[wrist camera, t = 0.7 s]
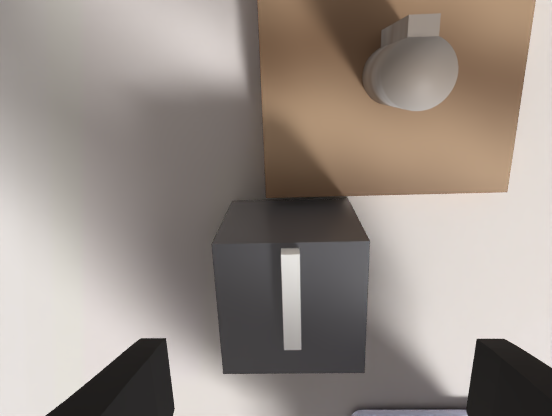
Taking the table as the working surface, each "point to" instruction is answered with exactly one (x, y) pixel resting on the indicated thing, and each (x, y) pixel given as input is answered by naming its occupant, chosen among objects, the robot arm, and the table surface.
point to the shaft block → (390, 95)
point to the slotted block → (291, 287)
